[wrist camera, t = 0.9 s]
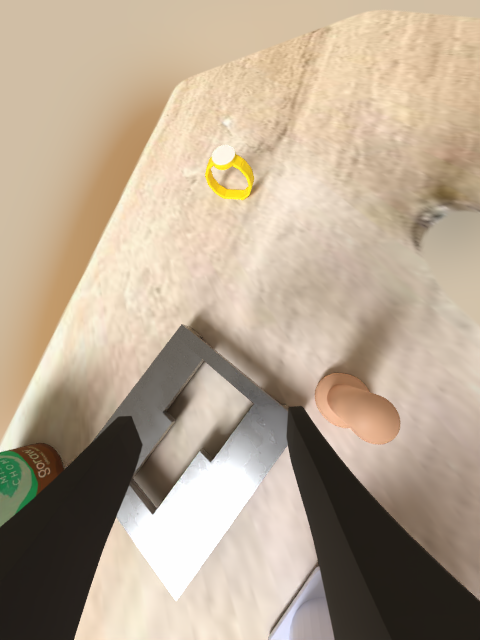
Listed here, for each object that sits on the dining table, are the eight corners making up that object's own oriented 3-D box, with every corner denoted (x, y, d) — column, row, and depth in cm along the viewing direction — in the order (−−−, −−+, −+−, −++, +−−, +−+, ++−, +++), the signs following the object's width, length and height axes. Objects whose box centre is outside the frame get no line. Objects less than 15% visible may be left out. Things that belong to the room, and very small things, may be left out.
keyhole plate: (300, 416, 21) (302, 423, 19) (188, 573, 20) (176, 601, 18) (191, 327, 26) (181, 324, 23) (96, 452, 25) (77, 462, 23)
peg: (378, 394, 20) (436, 413, 13) (349, 436, 20) (389, 481, 12) (332, 362, 22) (359, 362, 14) (305, 401, 21) (316, 422, 14)
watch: (256, 189, 28) (253, 145, 23) (251, 207, 28) (247, 167, 22) (216, 184, 30) (203, 142, 24) (210, 201, 29) (196, 162, 23)
